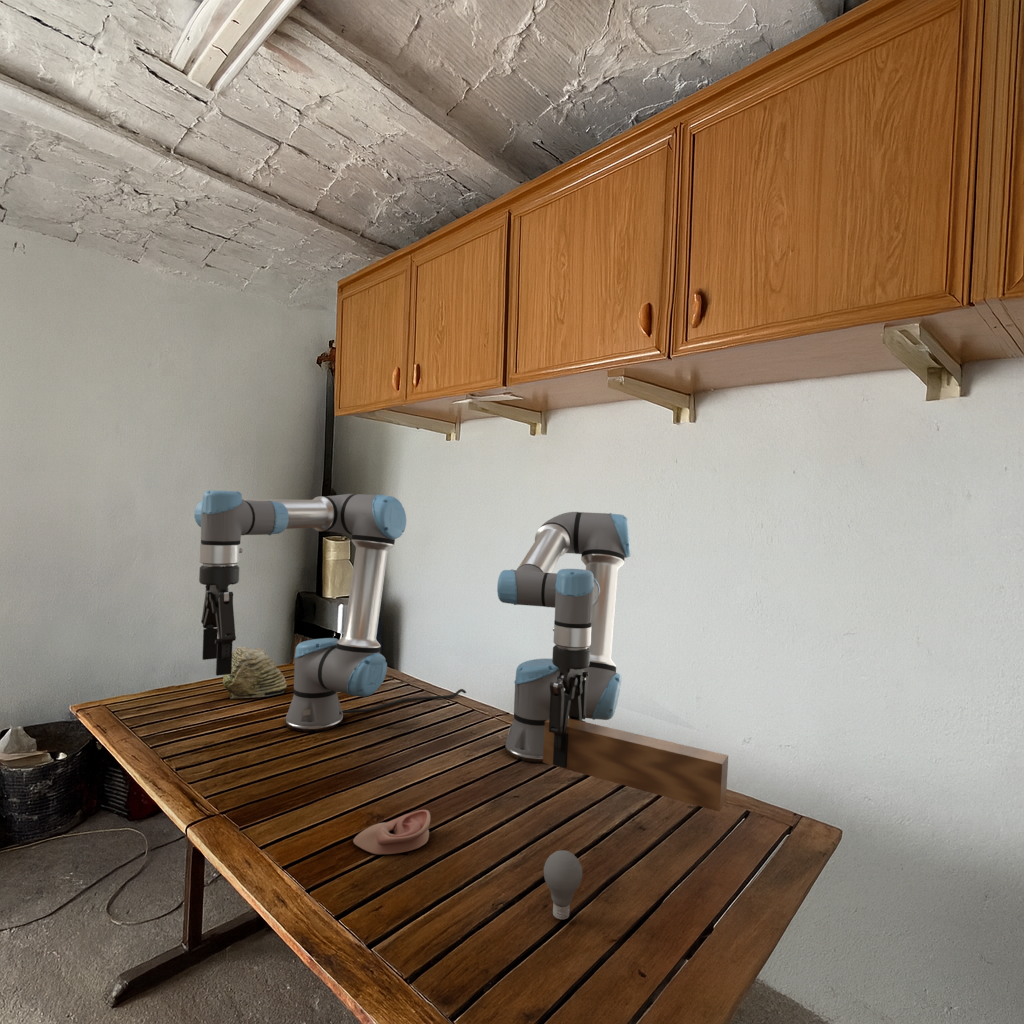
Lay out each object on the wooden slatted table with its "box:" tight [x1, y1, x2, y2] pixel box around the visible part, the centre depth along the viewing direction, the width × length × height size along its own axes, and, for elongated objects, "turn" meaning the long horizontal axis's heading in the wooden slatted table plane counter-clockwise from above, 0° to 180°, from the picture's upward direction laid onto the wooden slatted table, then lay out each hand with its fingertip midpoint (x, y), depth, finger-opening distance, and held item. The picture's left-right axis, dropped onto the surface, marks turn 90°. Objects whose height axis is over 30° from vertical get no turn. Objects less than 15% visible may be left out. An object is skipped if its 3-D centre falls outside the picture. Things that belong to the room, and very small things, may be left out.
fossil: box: [222, 646, 288, 699], centre depth 198 cm, size 9×18×15 cm, turn 132°
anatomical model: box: [352, 809, 431, 856], centre depth 118 cm, size 13×4×12 cm
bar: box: [542, 717, 729, 813], centre depth 121 cm, size 35×5×8 cm, turn 59°
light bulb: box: [543, 849, 583, 920], centre depth 98 cm, size 6×6×10 cm
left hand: (216, 666), depth 132 cm, fingers open, 13 cm apart
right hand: (566, 760), depth 128 cm, fingers closed on bar, 5 cm apart
